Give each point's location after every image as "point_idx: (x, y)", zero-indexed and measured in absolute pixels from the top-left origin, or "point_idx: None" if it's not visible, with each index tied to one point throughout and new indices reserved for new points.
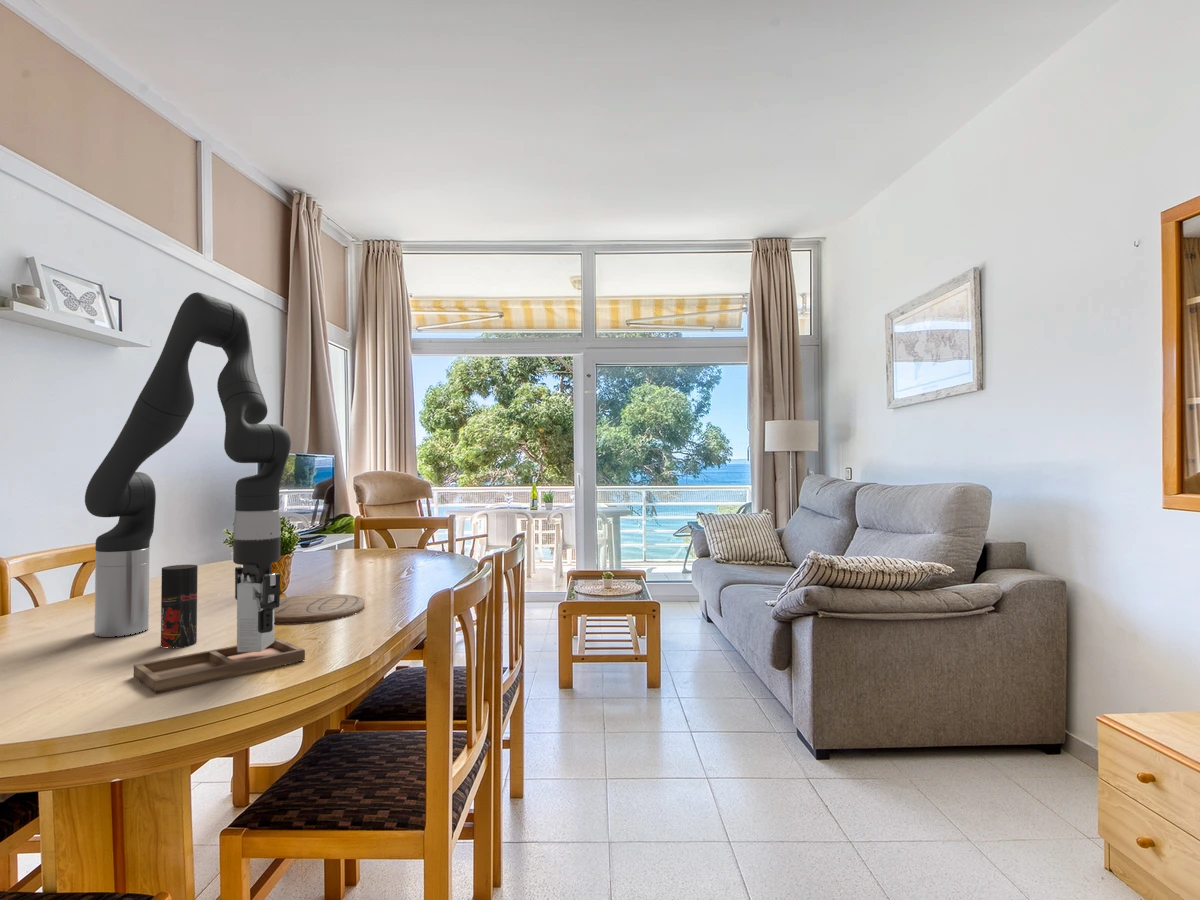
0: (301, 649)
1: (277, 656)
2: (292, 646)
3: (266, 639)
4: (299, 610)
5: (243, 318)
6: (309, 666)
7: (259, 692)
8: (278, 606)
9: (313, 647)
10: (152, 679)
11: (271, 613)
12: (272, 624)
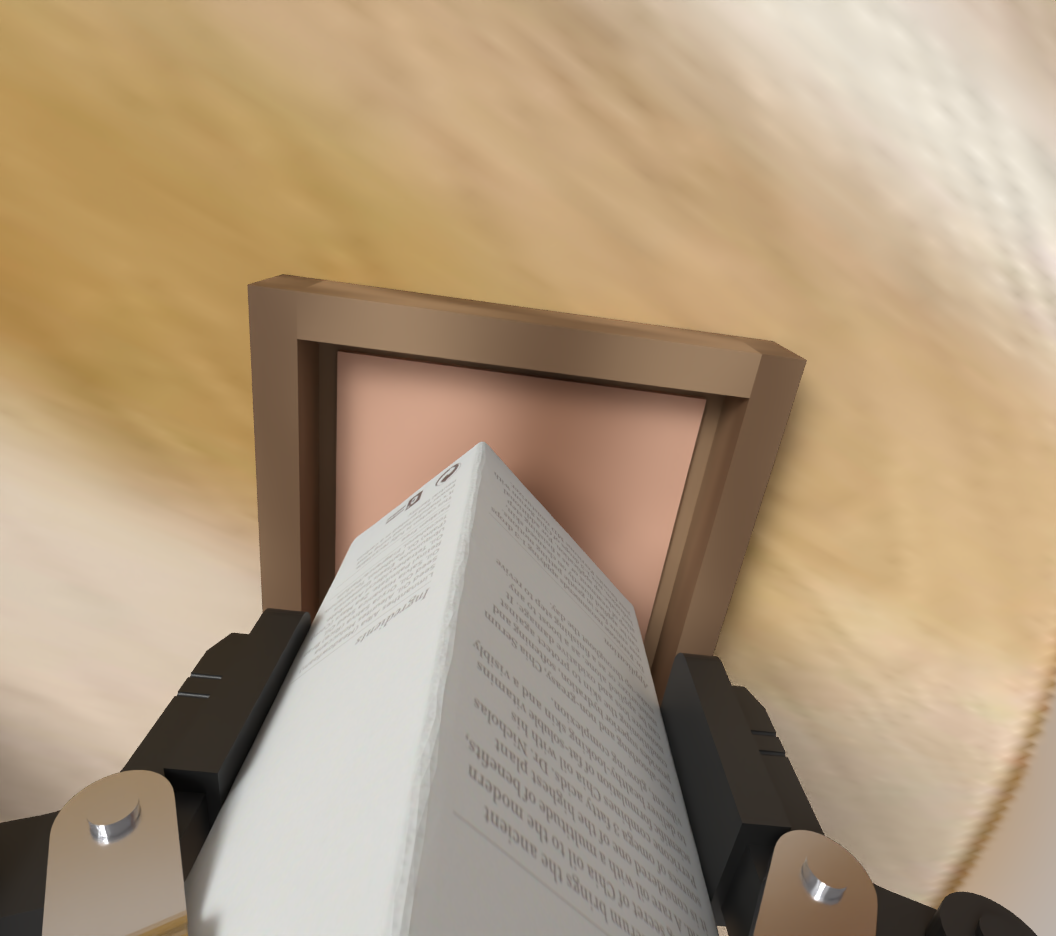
0: (774, 370)
1: (743, 543)
2: (633, 363)
3: (594, 587)
4: None
5: None
6: (900, 391)
7: (984, 738)
8: (1006, 917)
9: (493, 52)
10: None
11: (815, 828)
12: (731, 690)
